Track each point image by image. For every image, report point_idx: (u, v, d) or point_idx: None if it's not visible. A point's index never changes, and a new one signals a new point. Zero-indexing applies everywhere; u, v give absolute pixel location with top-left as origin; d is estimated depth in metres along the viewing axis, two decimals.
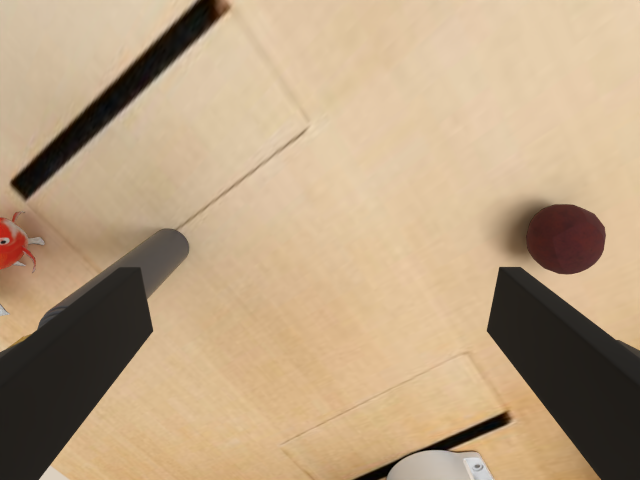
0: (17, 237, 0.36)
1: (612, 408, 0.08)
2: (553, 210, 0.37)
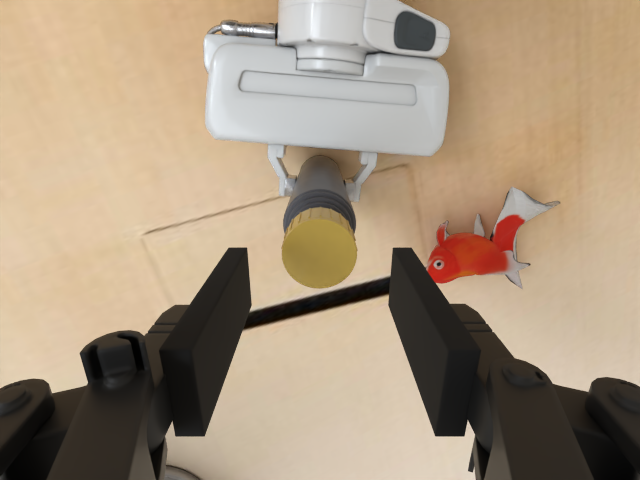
0: (431, 258, 0.36)
1: (430, 352, 0.09)
2: None
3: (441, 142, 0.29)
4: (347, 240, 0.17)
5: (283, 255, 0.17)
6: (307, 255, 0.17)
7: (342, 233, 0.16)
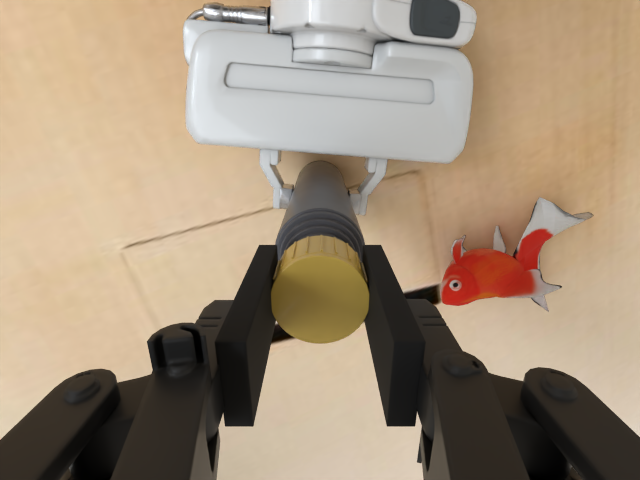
0: (446, 277, 0.32)
1: (384, 345, 0.10)
2: None
3: (462, 147, 0.25)
4: (357, 283, 0.12)
5: (272, 302, 0.13)
6: (303, 302, 0.13)
7: (351, 274, 0.12)
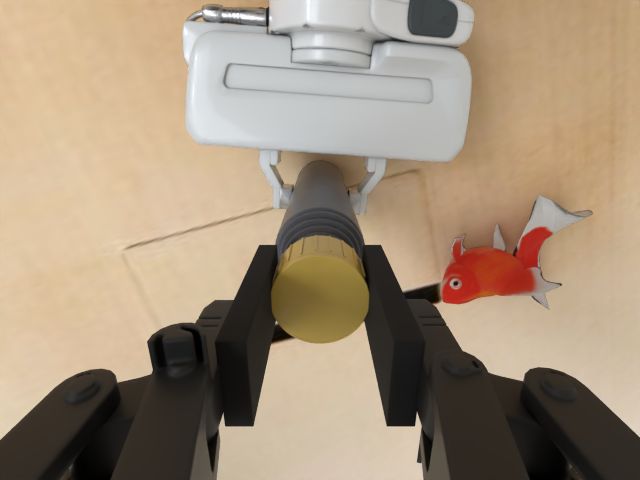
0: (446, 276, 0.32)
1: (384, 345, 0.10)
2: None
3: (461, 146, 0.25)
4: (287, 276, 0.12)
5: (335, 339, 0.13)
6: (325, 315, 0.13)
7: (280, 285, 0.12)
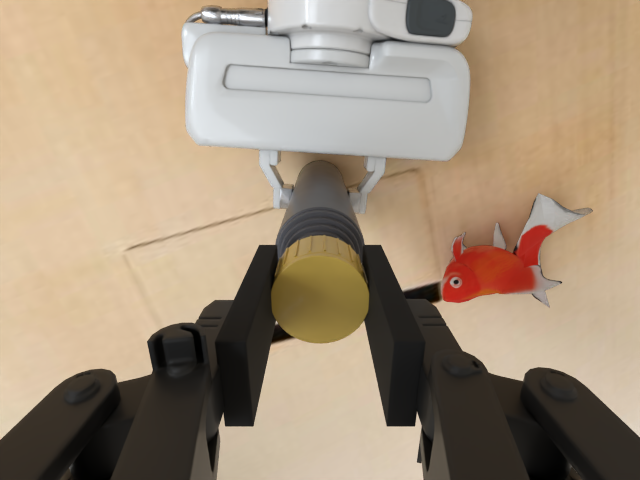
0: (447, 274, 0.32)
1: (384, 344, 0.10)
2: None
3: (460, 144, 0.25)
4: (305, 335, 0.13)
5: (358, 274, 0.12)
6: (332, 292, 0.12)
7: (316, 337, 0.13)
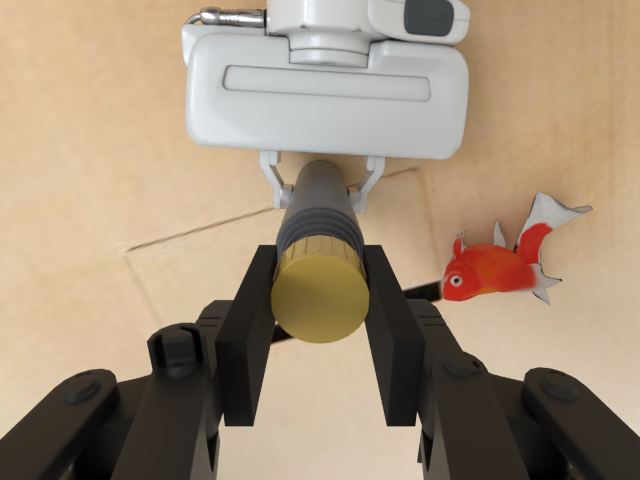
0: (447, 273, 0.32)
1: (384, 344, 0.10)
2: None
3: (459, 143, 0.25)
4: (362, 303, 0.13)
5: (278, 279, 0.12)
6: (306, 295, 0.13)
7: (362, 292, 0.12)
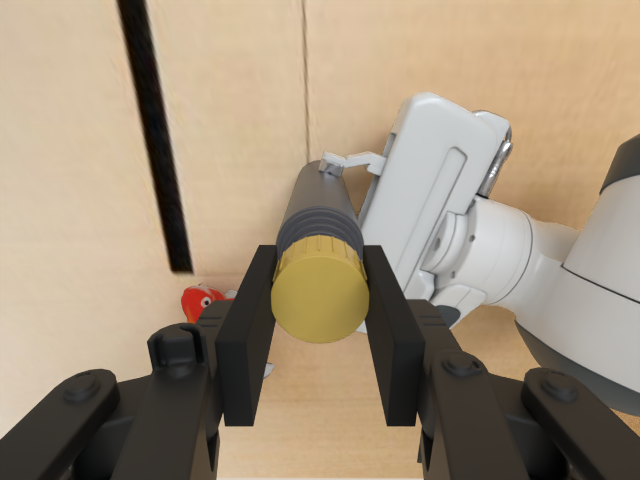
0: (212, 293, 0.33)
1: (384, 345, 0.10)
2: None
3: None
4: (362, 303, 0.13)
5: (278, 279, 0.12)
6: (306, 295, 0.13)
7: (362, 292, 0.12)
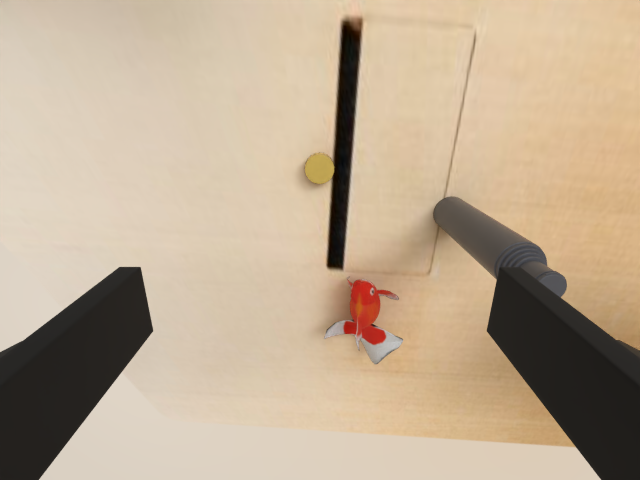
0: (373, 285, 0.46)
1: (612, 408, 0.08)
2: None
3: None
4: (331, 169, 0.44)
5: (307, 162, 0.43)
6: (315, 167, 0.43)
7: (331, 166, 0.43)
